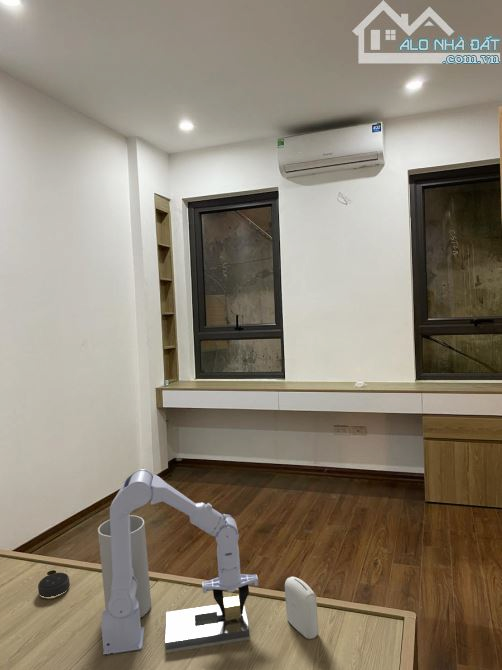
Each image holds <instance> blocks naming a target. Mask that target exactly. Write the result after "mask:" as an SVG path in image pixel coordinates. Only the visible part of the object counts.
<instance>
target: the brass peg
mask: <svg viewBox="0 0 502 670" xmlns="http://www.w3.org/2000/svg"><path fill="white" fill-rule="evenodd" d="M223 601H224V610H225V621H230V620H236V619H237V618H241V613H240V603H239V595H237V596H228V597H223Z"/></svg>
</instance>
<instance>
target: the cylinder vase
mask: <svg viewBox="0 0 502 670" xmlns="http://www.w3.org/2000/svg"><path fill="white" fill-rule="evenodd" d="M97 532H98V543H99V555H100V564H101V574H102V575H101V576H102V577H101V578H102V585H103V587H102V588H103V594H104V595H103V596H104V606H105V609H104V610H106V609H108V603H109V600H110V597H111V587H112V578H113V571H112V549H111V528H110V519H108V520H106V521H104V522H103V523H101V524H100V525H99V527H98V528H97ZM130 533H131V556H132V568H133V572H134V577H135V578H136V580H137V583H138V587H137V591H136V595H135V597H136V599H137V600H138V602H139V612H140V619H142V618H143V617H145V614H146V615H147V614H148V612H149V611H150V609H151V606H152V596H151V595H152V594H151V585H150V583H151V582H150V572H149V562H148V551H147V548H148V547H147V539H146V527H145V520H144V518H143V517H141V516H138V515H134V514H133V515H132V514H131V515H130ZM141 617H142V618H141Z"/></svg>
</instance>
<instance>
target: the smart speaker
mask: <svg viewBox="0 0 502 670" xmlns="http://www.w3.org/2000/svg"><path fill="white" fill-rule="evenodd" d="M69 586H70V587H71V585H70V576H69V575H68V574H66V573H64V572H53V573H51V574H48V575H46V576H44V577H43V578H42V579H41V580H39V582H38V585H37V589H38V595H39V594H40V595H41V596H44V597H51V596H56V595H58V594H61V593H63V592H65V591H66V590H67V589H68V588H69V589H70V587H69ZM69 589H68V590H69Z"/></svg>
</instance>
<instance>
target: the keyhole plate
mask: <svg viewBox="0 0 502 670" xmlns="http://www.w3.org/2000/svg"><path fill="white" fill-rule="evenodd" d="M247 616H248V615H247V612H246V607H245V605H244V608H243V615H241V618H237V619H236V620H230V621H225V617H222V612H221V609H220V607H219V605H218V604H213V605H212V604H211V605H205V606H200V607H192V608H185V609H179V610H172V611H167V612H166V618H165V620H166V621H165V635H164V636H165V639H164V644H165V645H164V647H165V654H168V653H170V654H171V653H175V652H181V651H187V650H193V649H194V650H195V649H201V648H205V647H207V648H208V647H212V646H214V647H215V646H218V645H226V644H231V643H238V642H239V643H240V642H243V641H244V642H245V641H250V639H251V637H250V636H251V635H250V626H249V622H248V617H247Z"/></svg>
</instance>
